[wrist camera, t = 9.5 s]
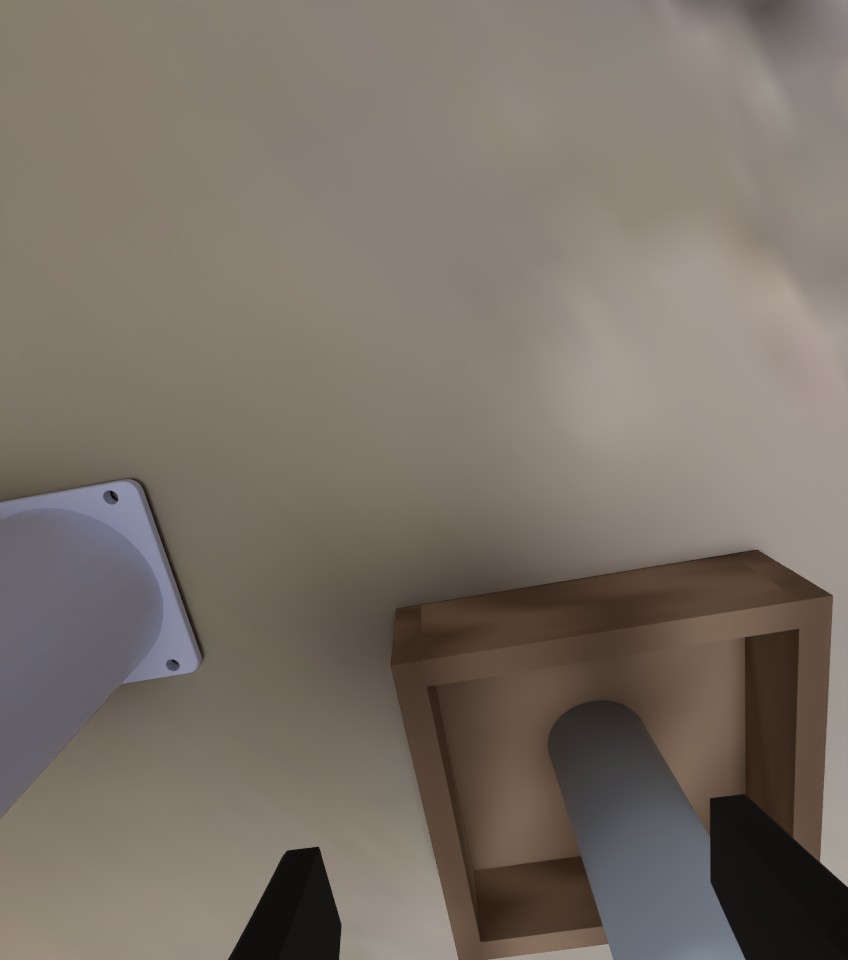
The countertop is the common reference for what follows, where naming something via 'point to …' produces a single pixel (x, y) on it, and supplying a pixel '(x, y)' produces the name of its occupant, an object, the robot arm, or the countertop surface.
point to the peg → (638, 839)
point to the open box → (610, 677)
